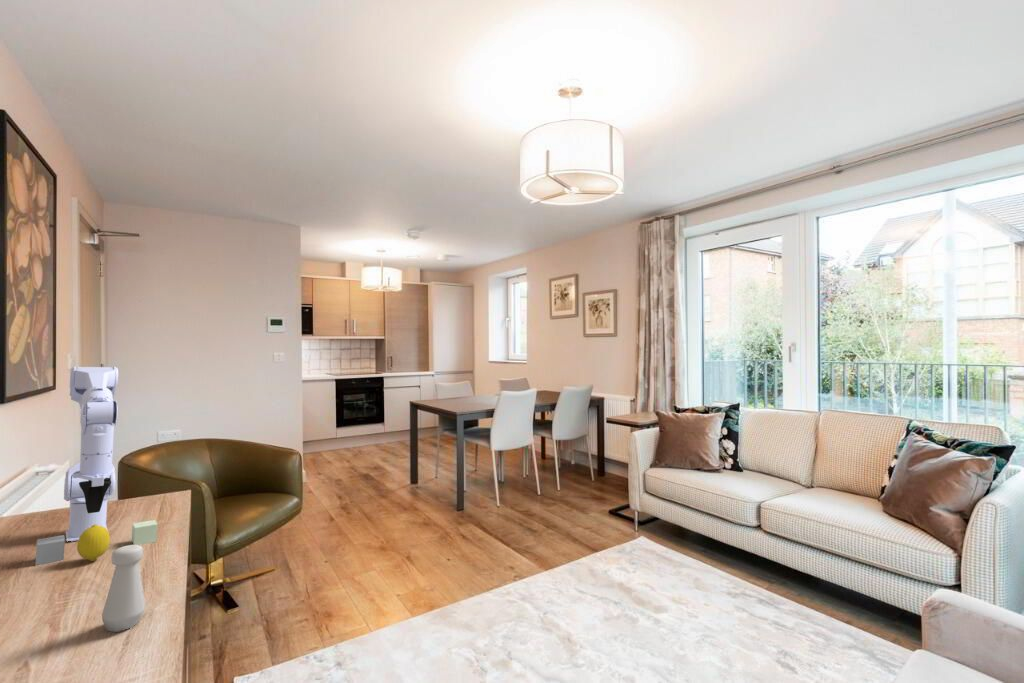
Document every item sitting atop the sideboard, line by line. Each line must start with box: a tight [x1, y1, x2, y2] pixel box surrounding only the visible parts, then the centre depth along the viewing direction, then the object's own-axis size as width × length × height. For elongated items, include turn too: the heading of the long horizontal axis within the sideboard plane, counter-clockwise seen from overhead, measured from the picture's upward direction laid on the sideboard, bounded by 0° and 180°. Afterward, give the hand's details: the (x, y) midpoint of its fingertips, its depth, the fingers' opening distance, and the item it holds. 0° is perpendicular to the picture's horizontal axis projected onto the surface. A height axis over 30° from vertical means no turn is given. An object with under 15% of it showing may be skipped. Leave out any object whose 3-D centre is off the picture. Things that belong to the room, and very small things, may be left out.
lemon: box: [76, 524, 111, 562], centre depth 108 cm, size 6×6×8 cm
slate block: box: [34, 534, 66, 567], centre depth 109 cm, size 4×4×4 cm
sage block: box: [131, 519, 159, 546], centre depth 120 cm, size 4×4×4 cm
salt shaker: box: [101, 544, 146, 633], centre depth 82 cm, size 6×6×13 cm
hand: (93, 512), depth 113 cm, fingers closed
